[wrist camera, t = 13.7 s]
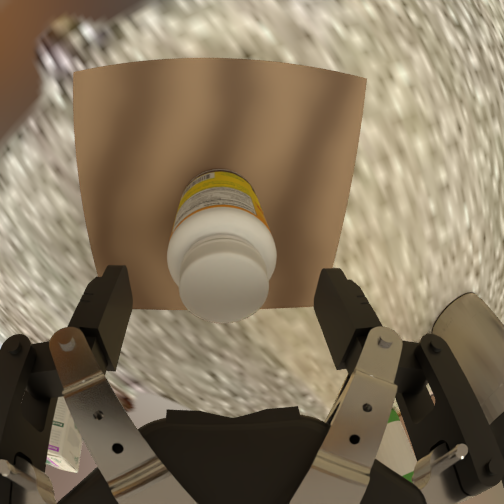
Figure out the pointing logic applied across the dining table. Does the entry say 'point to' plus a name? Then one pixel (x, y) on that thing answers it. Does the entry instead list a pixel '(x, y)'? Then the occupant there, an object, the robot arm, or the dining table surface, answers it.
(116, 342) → the robot arm
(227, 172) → the supplement bottle
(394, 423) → the wine bottle
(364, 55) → the dining table surface
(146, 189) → the walnut board
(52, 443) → the syrup box
